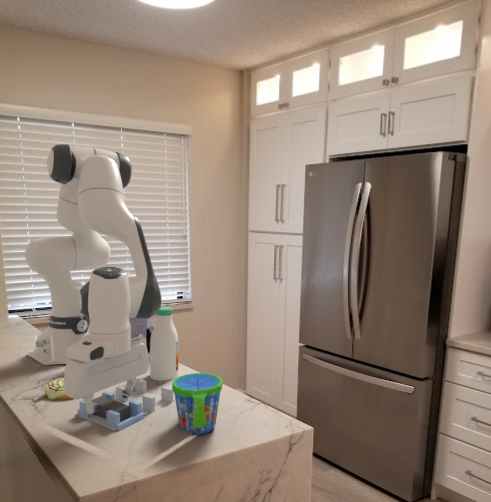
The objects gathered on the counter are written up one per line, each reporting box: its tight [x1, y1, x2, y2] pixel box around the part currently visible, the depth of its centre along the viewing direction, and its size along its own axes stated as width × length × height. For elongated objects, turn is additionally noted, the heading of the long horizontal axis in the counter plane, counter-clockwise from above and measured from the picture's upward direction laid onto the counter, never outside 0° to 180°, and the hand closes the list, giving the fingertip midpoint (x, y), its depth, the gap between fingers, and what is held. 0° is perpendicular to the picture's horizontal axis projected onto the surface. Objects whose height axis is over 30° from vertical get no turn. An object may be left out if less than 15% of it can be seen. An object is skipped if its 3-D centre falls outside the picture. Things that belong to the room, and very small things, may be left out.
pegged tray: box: [77, 378, 176, 431], centre depth 97 cm, size 14×18×4 cm
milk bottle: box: [149, 306, 179, 382], centre depth 118 cm, size 8×8×20 cm
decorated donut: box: [43, 377, 74, 401], centre depth 106 cm, size 10×11×4 cm
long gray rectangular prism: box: [91, 395, 130, 422], centre depth 93 cm, size 10×3×3 cm, turn 57°
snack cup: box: [171, 372, 224, 436], centre depth 90 cm, size 16×10×10 cm
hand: (110, 404), depth 93 cm, fingers open, 8 cm apart
